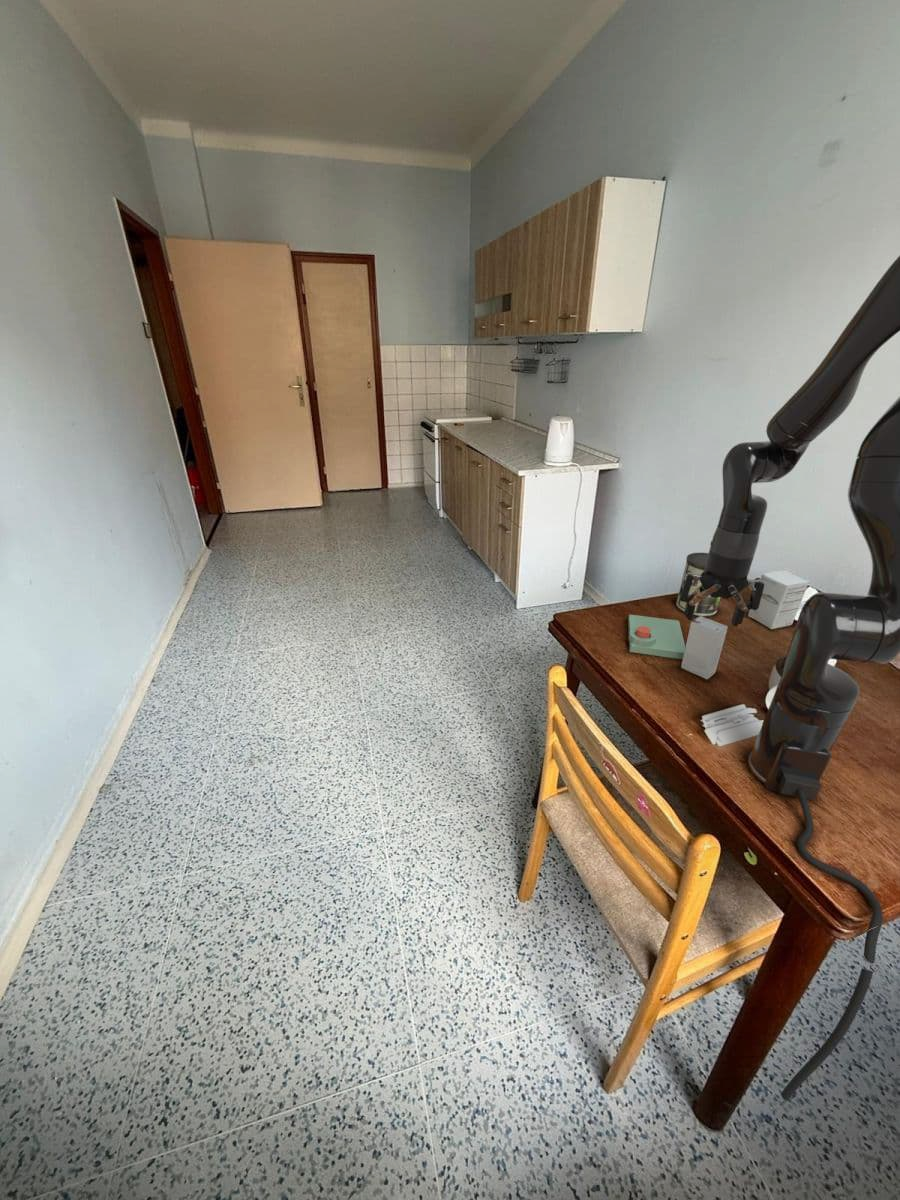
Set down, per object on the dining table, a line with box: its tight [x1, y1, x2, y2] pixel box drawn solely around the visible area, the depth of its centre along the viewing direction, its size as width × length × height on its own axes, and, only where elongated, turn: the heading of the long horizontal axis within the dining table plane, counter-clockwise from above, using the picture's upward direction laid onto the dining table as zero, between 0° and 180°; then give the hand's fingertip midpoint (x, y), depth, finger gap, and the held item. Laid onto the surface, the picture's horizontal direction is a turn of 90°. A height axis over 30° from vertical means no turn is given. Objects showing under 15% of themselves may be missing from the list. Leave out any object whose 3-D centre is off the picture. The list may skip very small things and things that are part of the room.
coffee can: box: [675, 552, 722, 617], centre depth 126 cm, size 10×10×14 cm
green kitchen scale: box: [627, 614, 686, 660], centre depth 115 cm, size 15×12×4 cm
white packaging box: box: [747, 569, 810, 630], centre depth 119 cm, size 7×7×13 cm
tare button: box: [636, 626, 651, 639], centre depth 111 cm, size 3×3×2 cm
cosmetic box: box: [680, 616, 729, 680], centre depth 101 cm, size 6×4×12 cm
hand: (711, 621), depth 98 cm, fingers open, 8 cm apart
